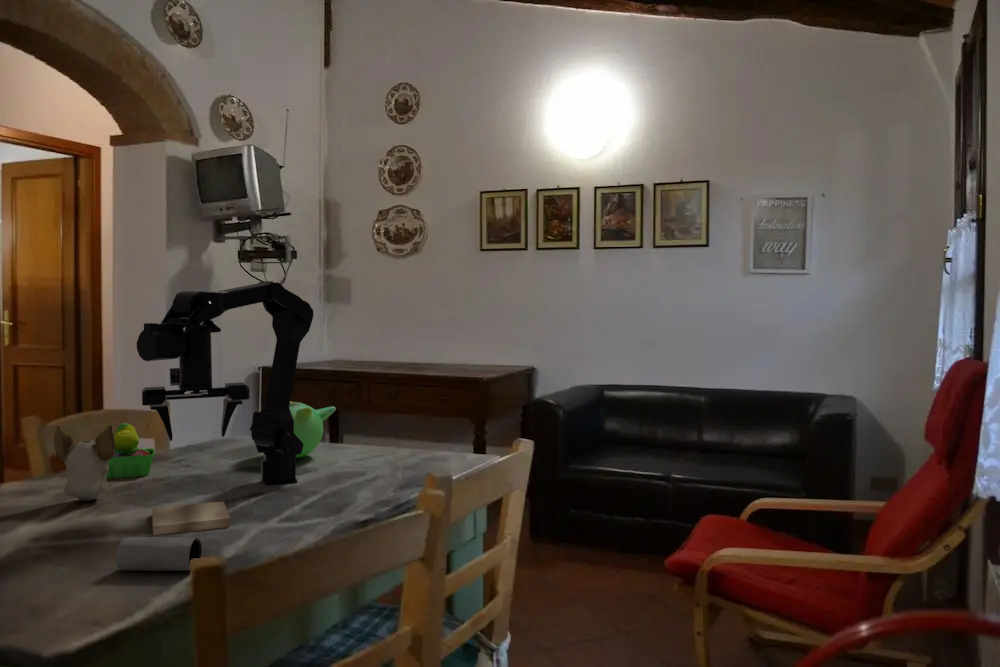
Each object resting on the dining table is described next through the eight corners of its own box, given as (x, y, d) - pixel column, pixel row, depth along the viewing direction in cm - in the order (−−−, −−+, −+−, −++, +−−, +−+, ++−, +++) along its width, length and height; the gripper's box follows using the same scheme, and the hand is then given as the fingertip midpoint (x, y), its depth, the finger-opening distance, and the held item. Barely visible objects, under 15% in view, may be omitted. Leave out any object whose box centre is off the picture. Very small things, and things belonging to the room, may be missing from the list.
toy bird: (275, 450, 195) (275, 394, 194) (337, 452, 192) (337, 395, 192) (242, 464, 177) (242, 402, 176) (310, 467, 174) (310, 404, 174)
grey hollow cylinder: (133, 542, 109) (204, 543, 110) (125, 573, 107) (197, 574, 107) (121, 532, 106) (194, 533, 106) (112, 565, 103) (186, 565, 103)
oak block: (223, 511, 138) (223, 501, 138) (230, 529, 127) (230, 518, 127) (152, 519, 133) (152, 508, 133) (153, 538, 122) (153, 526, 122)
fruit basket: (94, 482, 158) (94, 429, 158) (98, 473, 166) (98, 423, 166) (154, 477, 163) (153, 426, 162) (155, 469, 171) (154, 420, 170)
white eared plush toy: (125, 495, 147) (125, 420, 146) (110, 507, 138) (109, 427, 138) (67, 497, 145) (66, 420, 145) (48, 509, 137) (47, 428, 136)
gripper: (241, 352, 153) (242, 427, 154) (140, 355, 145) (142, 435, 146) (249, 356, 143) (250, 437, 144) (141, 360, 135) (143, 445, 136)
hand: (197, 438), depth 143 cm, fingers open, 9 cm apart
